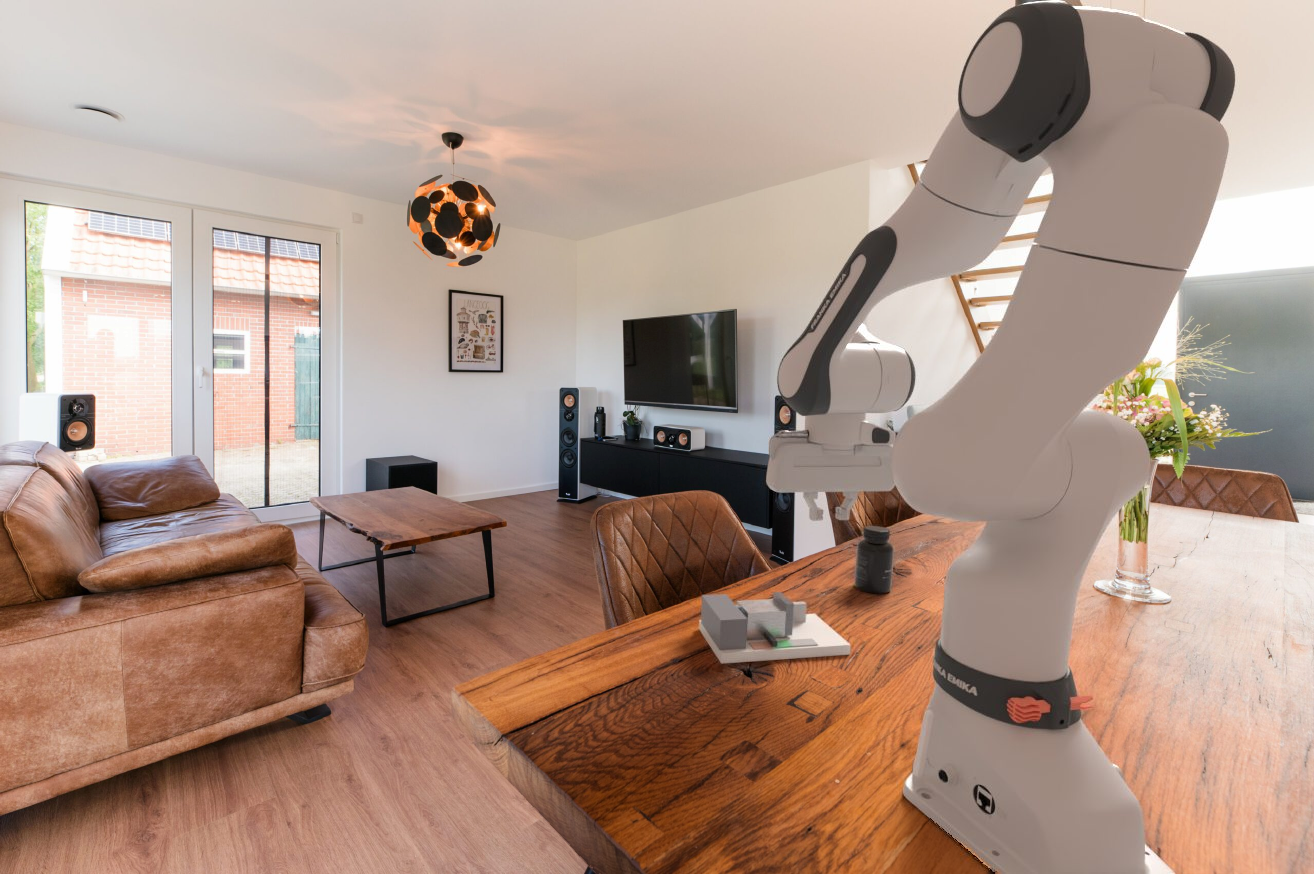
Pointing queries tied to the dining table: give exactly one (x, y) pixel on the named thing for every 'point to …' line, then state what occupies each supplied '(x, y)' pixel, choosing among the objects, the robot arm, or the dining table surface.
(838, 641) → the gauge base
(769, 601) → the grey sliding block
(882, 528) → the supplement bottle
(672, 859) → the dining table surface
